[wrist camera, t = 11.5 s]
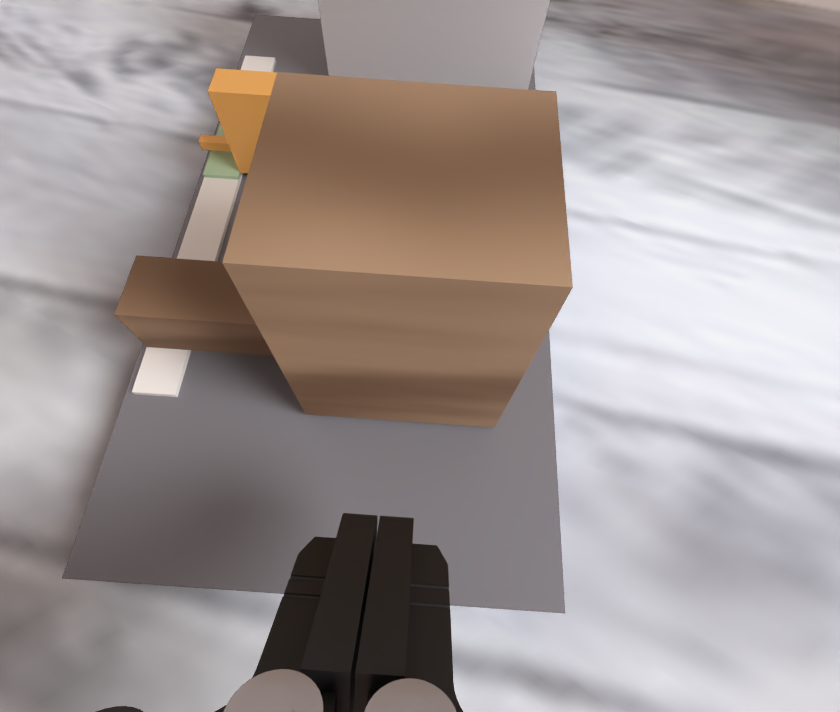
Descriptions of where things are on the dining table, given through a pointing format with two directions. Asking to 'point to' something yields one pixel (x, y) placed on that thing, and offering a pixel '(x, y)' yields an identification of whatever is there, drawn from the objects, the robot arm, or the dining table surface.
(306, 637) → the robot arm
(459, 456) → the gauge base
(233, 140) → the pointer
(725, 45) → the dining table surface
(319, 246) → the brown block
